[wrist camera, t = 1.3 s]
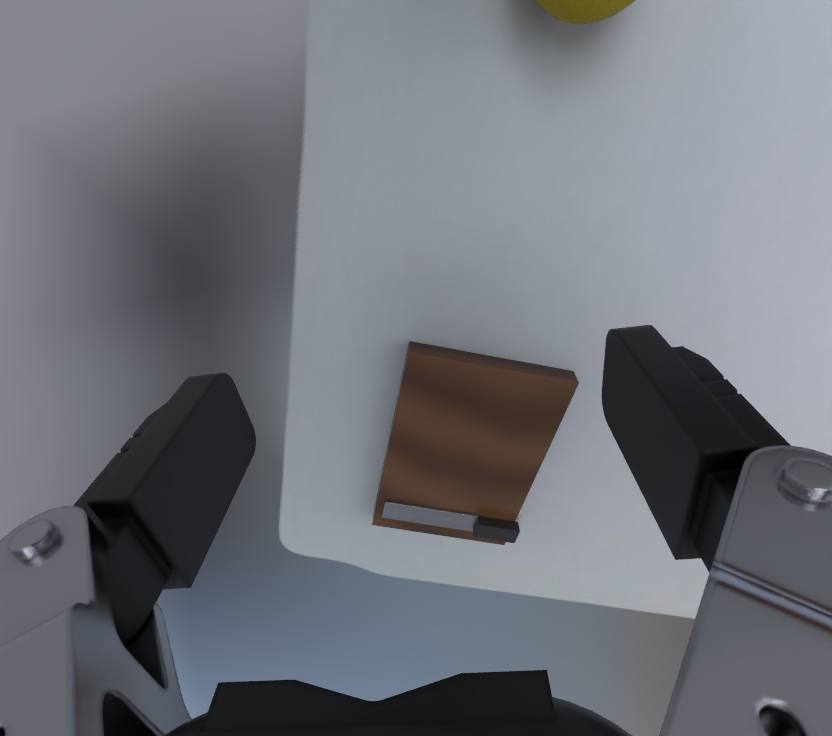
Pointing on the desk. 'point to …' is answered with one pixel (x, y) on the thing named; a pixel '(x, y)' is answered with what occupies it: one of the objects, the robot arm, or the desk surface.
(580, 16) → the lemon
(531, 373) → the cutting board
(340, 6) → the desk surface
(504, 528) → the knife
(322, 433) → the desk surface
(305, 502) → the desk surface
